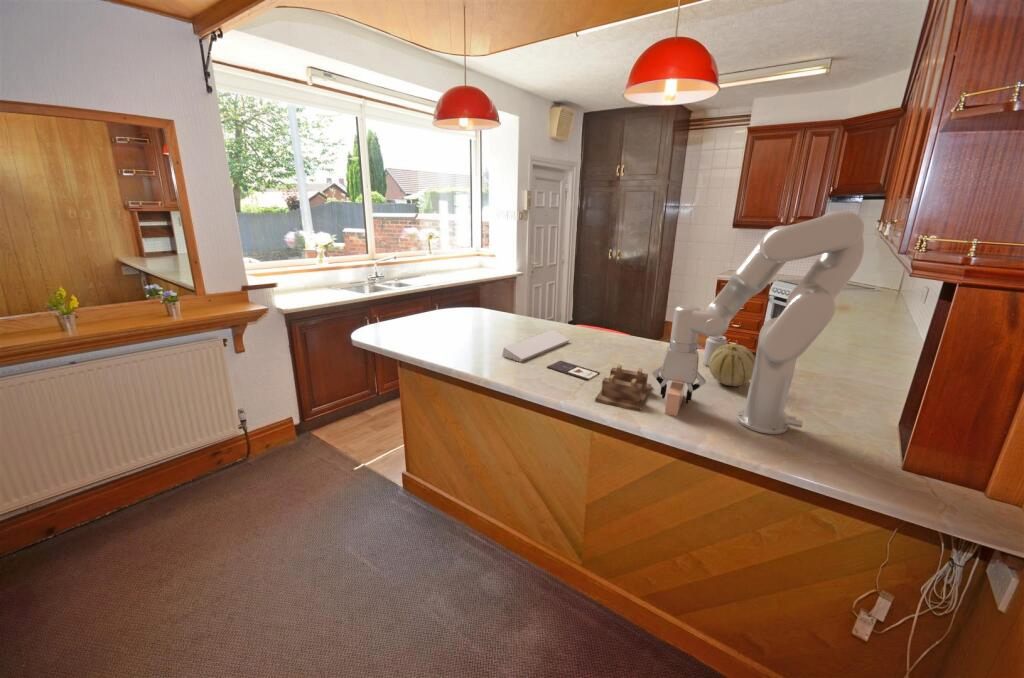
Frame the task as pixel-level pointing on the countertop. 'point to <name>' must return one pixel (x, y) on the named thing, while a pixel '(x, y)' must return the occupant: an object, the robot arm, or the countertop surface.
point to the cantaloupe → (732, 364)
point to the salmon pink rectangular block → (674, 398)
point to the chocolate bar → (573, 370)
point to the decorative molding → (534, 346)
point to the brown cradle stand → (624, 388)
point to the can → (713, 347)
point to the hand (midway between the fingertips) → (675, 398)
